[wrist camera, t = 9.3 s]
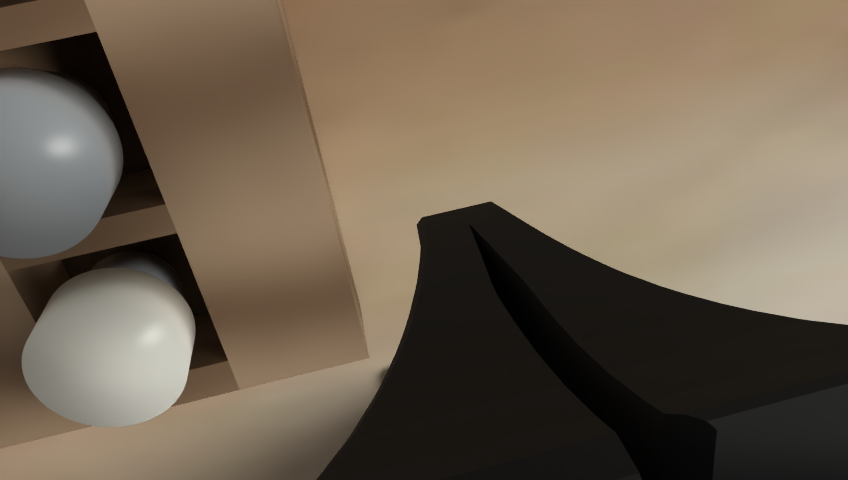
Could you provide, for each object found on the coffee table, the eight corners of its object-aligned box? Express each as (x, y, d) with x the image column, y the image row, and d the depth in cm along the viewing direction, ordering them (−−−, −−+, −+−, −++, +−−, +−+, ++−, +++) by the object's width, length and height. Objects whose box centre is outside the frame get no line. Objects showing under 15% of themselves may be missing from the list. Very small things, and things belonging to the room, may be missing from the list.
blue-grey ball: (159, 174, 19) (133, 237, 16) (17, 205, 19) (-39, 275, 16) (103, 33, 17) (62, 71, 14) (-57, 66, 17) (-139, 112, 14)
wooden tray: (360, 306, 24) (369, 357, 22) (-8, 394, 23) (-44, 459, 21) (196, -329, 15) (178, -370, 13) (-412, -230, 14) (-566, -253, 12)
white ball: (219, 326, 22) (208, 406, 19) (95, 356, 22) (62, 442, 18) (177, 220, 20) (157, 288, 17) (40, 250, 20) (-8, 326, 16)
